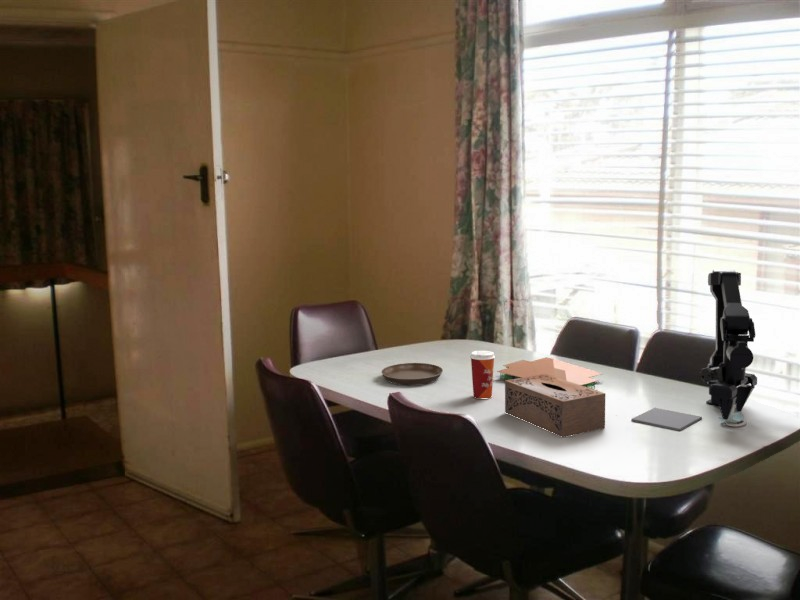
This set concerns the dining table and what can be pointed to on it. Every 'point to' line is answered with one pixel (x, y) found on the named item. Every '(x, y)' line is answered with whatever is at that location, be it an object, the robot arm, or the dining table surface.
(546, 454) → the dining table surface
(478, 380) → the paper cup
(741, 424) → the pacifier
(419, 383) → the plant saucer
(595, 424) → the tissue box cover
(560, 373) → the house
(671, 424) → the mat
